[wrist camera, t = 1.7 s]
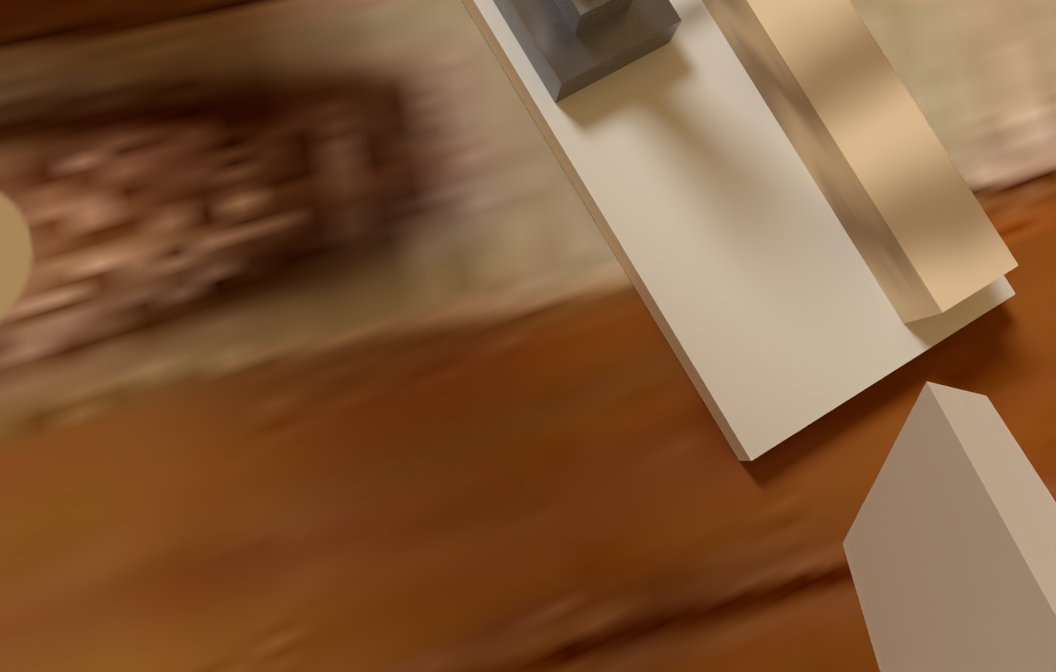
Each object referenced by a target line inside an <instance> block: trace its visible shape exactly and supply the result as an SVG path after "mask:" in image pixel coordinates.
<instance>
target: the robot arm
mask: <svg viewBox="0 0 1056 672" xmlns="http://www.w3.org/2000/svg"><path fill="white" fill-rule="evenodd" d="M843 547H844V550H845V554H846V557H847V561H848V564H849V567H850V571H851V574H852V578H853V581H854V584H855V588H856V591H857V595H858V598H859V602H860V605H861V608H862V612H863V615H864V619H865V622H866V625H867V629H868V632H869V636H870V639H871V642H872V646H873V649H874V653H875V656H876V660H877V663H878V666H879V670H880V672H1056V502H1055V500H1054V499H1053V497H1052V496H1051V494H1050V493H1049V491H1048V490H1047V488H1046V487H1045V485H1044V483H1043V482H1042V480H1041V479H1040V477H1039V476H1038V474H1037V473H1036V471H1035V470H1034V468H1033V467H1032V465H1031V463H1030V462H1029V460H1028V459H1027V457H1026V456H1025V454H1024V453H1023V451H1022V450H1021V448H1020V447H1019V445H1018V443H1017V442H1016V440H1015V439H1014V437H1013V436H1012V434H1011V433H1010V431H1009V430H1008V428H1007V427H1006V425H1005V423H1004V422H1003V420H1002V419H1001V417H1000V416H999V414H998V413H997V411H996V410H995V408H994V407H993V405H992V403H991V402H990V400H989V399H988V397H987V396H985V395H981V394H977V393H973V392H969V391H964V390H960V389H956V388H952V387H948V386H944V385H940V384H935V383H931V382H926V384H925V386H924V387H923V389H922V391H921V393H920V395H919V397H918V399H917V401H916V403H915V405H914V407H913V409H912V411H911V413H910V414H909V416H908V418H907V420H906V422H905V424H904V426H903V428H902V430H901V432H900V434H899V436H898V438H897V440H896V441H895V443H894V445H893V447H892V449H891V451H890V453H889V455H888V457H887V459H886V461H885V463H884V465H883V467H882V469H881V470H880V472H879V474H878V476H877V478H876V480H875V482H874V484H873V486H872V488H871V490H870V492H869V494H868V496H867V497H866V499H865V501H864V503H863V505H862V507H861V509H860V511H859V513H858V515H857V517H856V519H855V521H854V523H853V524H852V526H851V528H850V530H849V532H848V534H847V536H846V538H845V540H844V542H843Z"/></svg>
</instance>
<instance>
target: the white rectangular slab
mask: <svg viewBox="0 0 1056 672" xmlns="http://www.w3.org/2000/svg"><path fill="white" fill-rule="evenodd" d="M462 1H463V3H464V4H465V6H466V8H467V9H468V11H469V13H470V14H471V16H472V18H473V19H474V21H475V23H476V24H477V26H478V28H479V29H480V31H481V33H482V34H483V36H484V38H485V39H486V41H487V43H488V44H489V46H490V48H491V49H492V51H493V53H494V54H495V56H496V58H497V59H498V61H499V63H500V64H501V66H502V68H503V69H504V71H505V73H506V74H507V76H508V78H509V79H510V81H511V83H512V84H513V86H514V88H515V89H516V91H517V93H518V94H519V96H520V98H521V99H522V101H523V102H524V104H525V106H526V107H527V109H528V111H529V112H530V114H531V116H532V117H533V119H534V121H535V122H536V124H537V126H538V127H539V129H540V131H541V132H542V134H543V136H544V137H545V139H546V141H547V142H548V144H549V146H550V147H551V149H552V151H553V152H554V154H555V156H556V157H557V159H558V161H559V162H560V164H561V166H562V167H563V169H564V171H565V172H566V174H567V176H568V177H569V179H570V181H571V182H572V184H573V186H574V187H575V189H576V191H577V192H578V194H579V196H580V197H581V199H582V201H583V202H584V204H585V206H586V207H587V209H588V210H589V212H590V214H591V215H592V217H593V219H594V220H595V222H596V224H597V225H598V227H599V229H600V230H601V232H602V234H603V235H604V237H605V239H606V240H607V242H608V244H609V245H610V247H611V249H612V250H613V252H614V254H615V255H616V257H617V259H618V260H619V262H620V264H621V265H622V267H623V269H624V270H625V272H626V274H627V275H628V277H629V279H630V280H631V282H632V284H633V285H634V287H635V289H636V290H637V292H638V294H639V295H640V297H641V299H642V300H643V302H644V304H645V305H646V307H647V309H648V310H649V312H650V313H651V315H652V317H653V318H654V320H655V322H656V323H657V325H658V327H659V328H660V330H661V332H662V333H663V335H664V337H665V338H666V340H667V342H668V343H669V345H670V347H671V348H672V350H673V352H674V353H675V355H676V357H677V358H678V360H679V362H680V363H681V365H682V367H683V368H684V370H685V372H686V373H687V375H688V377H689V378H690V380H691V382H692V383H693V385H694V387H695V388H696V390H697V392H698V393H699V395H700V397H701V398H702V400H703V402H704V403H705V405H706V407H707V408H708V410H709V412H710V413H711V415H712V417H713V418H714V420H715V421H716V423H717V425H718V426H719V428H720V430H721V431H722V433H723V435H724V436H725V438H726V440H727V441H728V443H729V445H730V446H731V448H732V450H733V451H734V453H735V455H736V456H737V458H738V460H739V461H752V460H754V459H755V458H757V457H758V456H760V455H762V454H763V453H765V452H766V451H768V450H770V449H771V448H773V447H774V446H776V445H777V444H779V443H781V442H782V441H784V440H785V439H787V438H789V437H790V436H792V435H793V434H795V433H796V432H798V431H800V430H801V429H803V428H804V427H806V426H807V425H809V424H811V423H812V422H814V421H815V420H817V419H819V418H820V417H822V416H823V415H825V414H826V413H828V412H830V411H831V410H833V409H834V408H836V407H838V406H839V405H841V404H842V403H844V402H845V401H847V400H849V399H850V398H852V397H853V396H855V395H857V394H858V393H860V392H861V391H863V390H864V389H866V388H868V387H869V386H871V385H872V384H874V383H875V382H877V381H879V380H880V379H882V378H883V377H885V376H887V375H888V374H890V373H891V372H893V371H894V370H896V369H898V368H899V367H901V366H902V365H904V364H906V363H907V362H909V361H910V360H912V359H913V358H915V357H917V356H918V355H920V354H921V353H923V352H925V351H926V350H928V349H929V348H931V347H932V346H934V345H936V344H937V343H939V342H940V341H942V340H943V339H945V338H947V337H948V336H950V335H951V334H953V333H955V332H956V331H958V330H959V329H961V328H962V327H964V326H966V325H967V324H969V323H970V322H972V321H974V320H975V319H977V318H978V317H980V316H981V315H983V314H985V313H986V312H988V311H989V310H991V309H993V308H994V307H996V306H997V305H999V304H1000V303H1002V302H1004V301H1005V300H1007V299H1008V298H1010V297H1011V296H1013V295H1015V292H1014V291H1013V289H1012V288H1011V286H1010V284H1009V283H1008V281H1007V280H1006V278H1005V277H1004V275H1002V276H1001V277H999V278H998V279H996V280H994V281H993V282H991V283H990V284H988V285H986V286H985V287H983V288H982V289H980V290H978V291H977V292H975V293H974V294H972V295H970V296H969V297H967V298H966V299H964V300H962V301H961V302H959V303H958V304H956V305H954V306H953V307H951V308H950V309H948V310H946V311H945V312H943V313H940V314H937V315H933V316H930V317H926V318H922V319H919V320H915V321H912V322H908V323H905V324H903V322H902V321H901V319H900V318H899V316H898V314H897V313H896V311H895V310H894V308H893V306H892V305H891V303H890V302H889V300H888V298H887V297H886V295H885V294H884V292H883V290H882V289H881V287H880V286H879V284H878V282H877V281H876V279H875V278H874V276H873V274H872V273H871V271H870V269H869V268H868V266H867V265H866V263H865V261H864V260H863V258H862V257H861V255H860V253H859V252H858V250H857V249H856V247H855V245H854V244H853V242H852V241H851V239H850V237H849V236H848V234H847V233H846V231H845V229H844V228H843V226H842V225H841V223H840V221H839V220H838V218H837V217H836V215H835V213H834V212H833V210H832V209H831V207H830V205H829V204H828V202H827V201H826V199H825V197H824V196H823V194H822V193H821V191H820V189H819V188H818V186H817V185H816V183H815V181H814V180H813V178H812V176H811V175H810V173H809V172H808V170H807V168H806V167H805V165H804V164H803V162H802V160H801V159H800V157H799V156H798V154H797V152H796V151H795V149H794V148H793V146H792V144H791V143H790V141H789V140H788V138H787V136H786V135H785V133H784V132H783V130H782V128H781V127H780V125H779V124H778V122H777V120H776V119H775V117H774V116H773V114H772V112H771V111H770V109H769V108H768V106H767V104H766V103H765V101H764V100H763V98H762V96H761V95H760V93H759V91H758V90H757V88H756V87H755V85H754V83H753V82H752V80H751V79H750V77H749V75H748V74H747V72H746V71H745V69H744V67H743V66H742V64H741V63H740V61H739V59H738V58H737V56H736V55H735V53H734V51H733V50H732V48H731V47H730V45H729V43H728V42H727V40H726V39H725V37H724V35H723V34H722V32H721V31H720V29H719V27H718V26H717V24H716V23H715V21H714V19H713V18H712V16H711V15H710V13H709V11H708V10H707V8H706V7H705V5H704V3H703V2H702V0H669V1H670V2H671V4H672V6H673V7H674V9H675V11H676V12H677V14H678V15H679V17H680V19H681V20H682V21H681V23H680V25H679V26H678V28H677V30H676V32H675V34H674V35H673V37H672V39H671V41H670V42H669V43H668V44H666V45H664V46H662V47H660V48H659V49H657V50H655V51H653V52H651V53H649V54H647V55H645V56H643V57H642V58H640V59H638V60H636V61H634V62H632V63H630V64H628V65H626V66H625V67H623V68H621V69H619V70H617V71H615V72H613V73H611V74H609V75H608V76H606V77H604V78H602V79H600V80H598V81H596V82H594V83H592V84H591V85H589V86H587V87H585V88H583V89H581V90H579V91H577V92H575V93H574V94H572V95H570V96H568V97H566V98H564V99H562V100H560V101H559V102H557V103H555V102H554V101H553V99H552V97H551V96H550V94H549V92H548V91H547V89H546V88H545V86H544V84H543V83H542V81H541V79H540V78H539V76H538V74H537V73H536V71H535V69H534V68H533V66H532V64H531V63H530V61H529V59H528V58H527V56H526V54H525V53H524V51H523V49H522V48H521V46H520V45H519V43H518V41H517V40H516V38H515V36H514V35H513V33H512V31H511V30H510V28H509V26H508V25H507V23H506V21H505V20H504V18H503V16H502V15H501V13H500V11H499V10H498V8H497V6H496V5H495V3H494V2H493V0H462Z"/></svg>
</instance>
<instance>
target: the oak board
mask: <svg viewBox="0 0 1056 672" xmlns="http://www.w3.org/2000/svg"><path fill="white" fill-rule="evenodd" d="M702 2H703V3H704V5H705V7H706V8H707V10H708V11H709V13H710V15H711V16H712V18H713V19H714V21H715V23H716V24H717V26H718V27H719V29H720V31H721V32H722V34H723V35H724V37H725V39H726V40H727V42H728V43H729V45H730V47H731V48H732V50H733V51H734V53H735V55H736V56H737V58H738V59H739V61H740V63H741V64H742V66H743V67H744V69H745V71H746V72H747V74H748V75H749V77H750V79H751V80H752V82H753V83H754V85H755V87H756V88H757V90H758V91H759V93H760V95H761V96H762V98H763V100H764V101H765V103H766V104H767V106H768V108H769V109H770V111H771V112H772V114H773V116H774V117H775V119H776V120H777V122H778V124H779V125H780V127H781V128H782V130H783V132H784V133H785V135H786V136H787V138H788V140H789V141H790V143H791V144H792V146H793V148H794V149H795V151H796V152H797V154H798V156H799V157H800V159H801V160H802V162H803V164H804V165H805V167H806V168H807V170H808V172H809V173H810V175H811V176H812V178H813V180H814V181H815V183H816V185H817V186H818V188H819V189H820V191H821V193H822V194H823V196H824V197H825V199H826V201H827V202H828V204H829V205H830V207H831V209H832V210H833V212H834V213H835V215H836V217H837V218H838V220H839V221H840V223H841V225H842V226H843V228H844V229H845V231H846V233H847V234H848V236H849V237H850V239H851V241H852V242H853V244H854V245H855V247H856V249H857V250H858V252H859V253H860V255H861V257H862V258H863V260H864V261H865V263H866V265H867V266H868V268H869V269H870V271H871V273H872V274H873V276H874V278H875V279H876V281H877V282H878V284H879V286H880V287H881V289H882V290H883V292H884V294H885V295H886V297H887V298H888V300H889V302H890V303H891V305H892V306H893V308H894V310H895V311H896V313H897V314H898V316H899V318H900V319H901V321H902V322H903V324H905V323H908V322H912V321H915V320H919V319H922V318H926V317H930V316H933V315H937V314H940V313H943V312H945V311H946V310H948V309H950V308H951V307H953V306H954V305H956V304H958V303H959V302H961V301H962V300H964V299H966V298H967V297H969V296H970V295H972V294H974V293H975V292H977V291H978V290H980V289H982V288H983V287H985V286H986V285H988V284H990V283H991V282H993V281H994V280H996V279H998V278H999V277H1001V276H1002V275H1004V274H1006V273H1007V272H1009V271H1010V270H1012V269H1014V268H1015V267H1017V266H1018V264H1017V262H1016V261H1015V259H1014V257H1013V256H1012V254H1011V253H1010V251H1009V250H1008V248H1007V246H1006V245H1005V243H1004V242H1003V240H1002V239H1001V237H1000V235H999V234H998V232H997V231H996V229H995V228H994V226H993V224H992V223H991V221H990V220H989V218H988V217H987V215H986V213H985V212H984V210H983V209H982V207H981V206H980V204H979V202H978V201H977V199H976V198H975V196H974V195H973V193H972V192H971V190H970V188H969V187H968V185H967V184H966V182H965V181H964V179H963V177H962V176H961V174H960V173H959V171H958V170H957V168H956V166H955V165H954V163H953V162H952V160H951V159H950V157H949V155H948V154H947V152H946V151H945V149H944V148H943V146H942V144H941V143H940V141H939V140H938V138H937V137H936V135H935V133H934V132H933V130H932V129H931V127H930V126H929V124H928V122H927V121H926V119H925V118H924V116H923V115H922V113H921V111H920V110H919V108H918V107H917V105H916V104H915V102H914V100H913V99H912V97H911V96H910V94H909V93H908V91H907V89H906V88H905V86H904V85H903V83H902V82H901V80H900V78H899V77H898V75H897V74H896V72H895V71H894V69H893V67H892V66H891V64H890V63H889V61H888V60H887V58H886V56H885V55H884V53H883V52H882V50H881V49H880V47H879V46H878V44H877V42H876V41H875V39H874V38H873V36H872V35H871V33H870V31H869V30H868V28H867V27H866V25H865V24H864V22H863V20H862V19H861V17H860V16H859V14H858V13H857V11H856V9H855V8H854V6H853V5H852V3H851V2H850V0H702Z"/></svg>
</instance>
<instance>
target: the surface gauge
mask: <svg viewBox="0 0 1056 672" xmlns="http://www.w3.org/2000/svg"><path fill="white" fill-rule="evenodd" d="M493 2H494V3H495V5H496V6H497V8H498V10H499V11H500V13H501V15H502V16H503V18H504V20H505V21H506V23H507V25H508V26H509V28H510V30H511V31H512V33H513V35H514V36H515V38H516V40H517V41H518V43H519V45H520V46H521V48H522V49H523V51H524V53H525V54H526V56H527V58H528V59H529V61H530V63H531V64H532V66H533V68H534V69H535V71H536V73H537V74H538V76H539V78H540V79H541V81H542V83H543V84H544V86H545V88H546V89H547V91H548V92H549V94H550V96H551V97H552V99H553V101H554V102H555V103H557V102H559V101H560V100H562V99H564V98H566V97H568V96H570V95H572V94H574V93H575V92H577V91H579V90H581V89H583V88H585V87H587V86H589V85H591V84H592V83H594V82H596V81H598V80H600V79H602V78H604V77H606V76H608V75H609V74H611V73H613V72H615V71H617V70H619V69H621V68H623V67H625V66H626V65H628V64H630V63H632V62H634V61H636V60H638V59H640V58H642V57H643V56H645V55H647V54H649V53H651V52H653V51H655V50H657V49H659V48H660V47H662V46H664V45H666V44H668V43H669V42H670V41H671V39H672V37H673V35H674V34H675V32H676V30H677V28H678V26H679V25H680V23H681V21H682V20H681V19H680V17H679V15H678V14H677V12H676V11H675V9H674V7H673V6H672V4H671V2H670V1H669V0H493Z"/></svg>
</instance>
